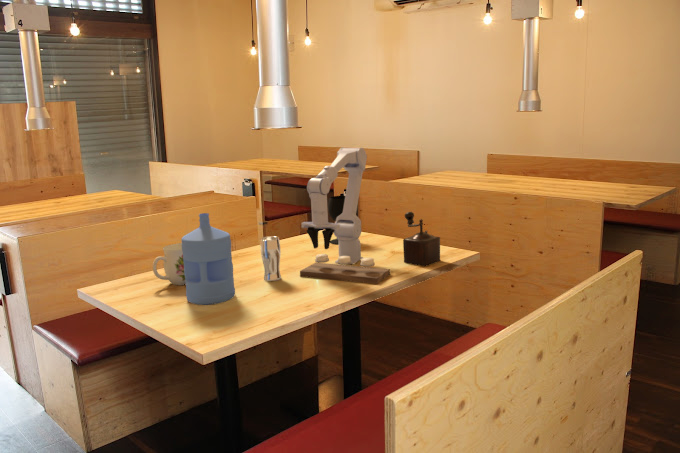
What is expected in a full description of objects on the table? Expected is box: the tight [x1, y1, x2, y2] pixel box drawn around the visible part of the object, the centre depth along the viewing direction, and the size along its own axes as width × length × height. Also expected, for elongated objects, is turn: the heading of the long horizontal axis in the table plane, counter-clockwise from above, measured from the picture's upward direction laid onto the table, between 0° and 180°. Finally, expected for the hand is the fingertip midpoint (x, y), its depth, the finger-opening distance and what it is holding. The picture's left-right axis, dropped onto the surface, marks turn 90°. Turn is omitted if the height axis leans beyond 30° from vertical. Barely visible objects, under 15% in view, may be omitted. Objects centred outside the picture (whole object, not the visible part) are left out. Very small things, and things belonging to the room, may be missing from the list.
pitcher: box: [152, 242, 186, 286], centre depth 219 cm, size 11×18×14 cm, turn 132°
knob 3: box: [359, 257, 375, 267], centre depth 216 cm, size 5×5×2 cm
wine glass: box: [327, 195, 345, 246], centre depth 271 cm, size 10×10×20 cm
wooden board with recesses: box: [299, 262, 391, 285], centre depth 221 cm, size 12×30×2 cm, turn 64°
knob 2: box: [336, 256, 351, 265], centre depth 220 cm, size 5×5×2 cm
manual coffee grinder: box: [402, 211, 441, 267], centre depth 235 cm, size 16×11×18 cm
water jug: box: [181, 212, 236, 306], centre depth 199 cm, size 16×16×28 cm
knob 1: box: [314, 253, 330, 263], centre depth 224 cm, size 5×5×2 cm
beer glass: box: [260, 235, 282, 282], centre depth 219 cm, size 7×7×15 cm
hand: (321, 248), depth 223 cm, fingers open, 4 cm apart
